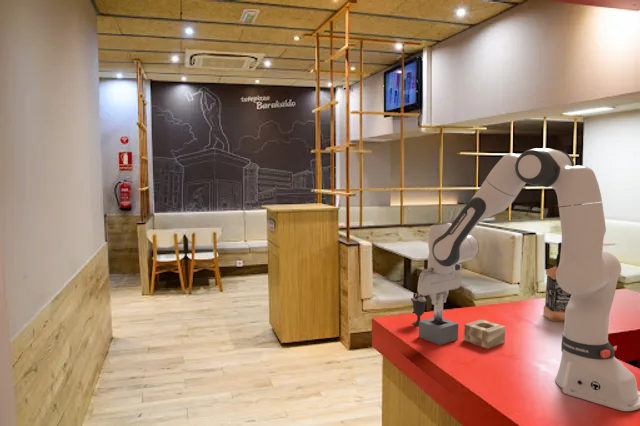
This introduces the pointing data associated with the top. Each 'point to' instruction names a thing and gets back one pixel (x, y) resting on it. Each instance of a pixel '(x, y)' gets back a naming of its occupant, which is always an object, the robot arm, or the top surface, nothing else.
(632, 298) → the top surface
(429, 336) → the dock block
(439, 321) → the pin
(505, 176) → the robot arm
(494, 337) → the mount block
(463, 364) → the top surface
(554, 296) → the whiskey bottle
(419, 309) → the sundae
